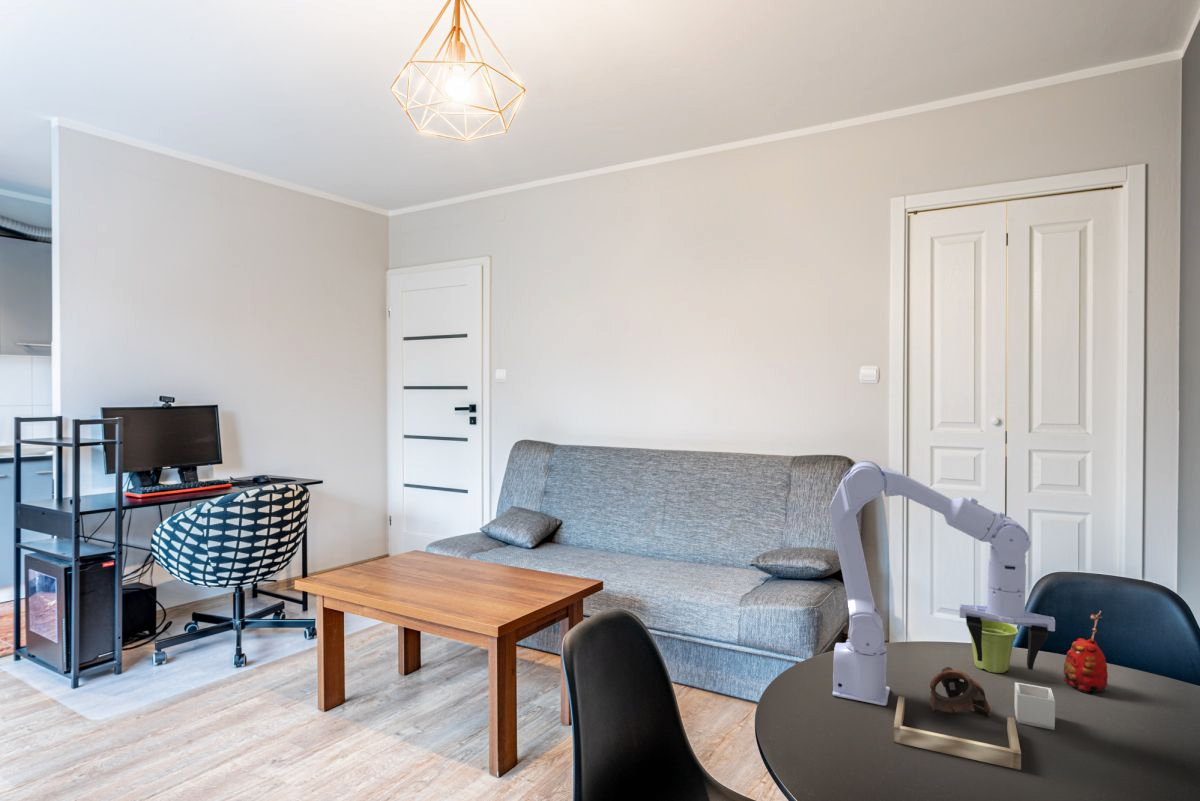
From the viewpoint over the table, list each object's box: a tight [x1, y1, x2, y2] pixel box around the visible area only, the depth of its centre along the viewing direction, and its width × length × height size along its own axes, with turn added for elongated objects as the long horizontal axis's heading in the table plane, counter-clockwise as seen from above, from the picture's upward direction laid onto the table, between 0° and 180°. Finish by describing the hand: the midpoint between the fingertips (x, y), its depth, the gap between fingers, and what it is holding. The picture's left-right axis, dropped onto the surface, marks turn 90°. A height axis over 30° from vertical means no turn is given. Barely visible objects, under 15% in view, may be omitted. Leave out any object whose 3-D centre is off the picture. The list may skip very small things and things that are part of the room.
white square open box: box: [1013, 682, 1056, 731], centre depth 120 cm, size 6×6×5 cm
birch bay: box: [892, 695, 1022, 771], centre depth 114 cm, size 18×12×2 cm
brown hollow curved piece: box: [929, 666, 992, 718], centre depth 124 cm, size 12×10×8 cm
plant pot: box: [965, 620, 1019, 674], centre depth 142 cm, size 9×9×9 cm
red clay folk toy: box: [1063, 610, 1109, 693], centre depth 133 cm, size 8×7×15 cm
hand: (1004, 663), depth 122 cm, fingers open, 7 cm apart
